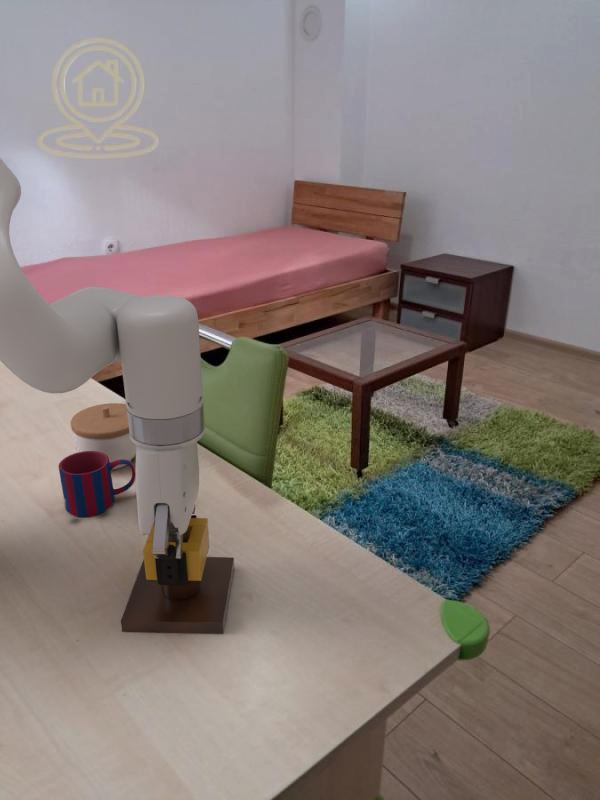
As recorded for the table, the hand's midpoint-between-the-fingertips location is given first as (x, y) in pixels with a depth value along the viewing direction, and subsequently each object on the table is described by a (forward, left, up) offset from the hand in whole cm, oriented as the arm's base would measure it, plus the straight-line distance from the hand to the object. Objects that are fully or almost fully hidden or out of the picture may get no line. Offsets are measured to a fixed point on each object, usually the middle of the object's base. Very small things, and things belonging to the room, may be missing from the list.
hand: (178, 561), depth 71 cm
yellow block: (0, 0, 0) cm, 0 cm away
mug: (-15, +19, -5) cm, 25 cm away
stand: (0, 0, -5) cm, 5 cm away
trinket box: (-17, +31, -5) cm, 36 cm away
